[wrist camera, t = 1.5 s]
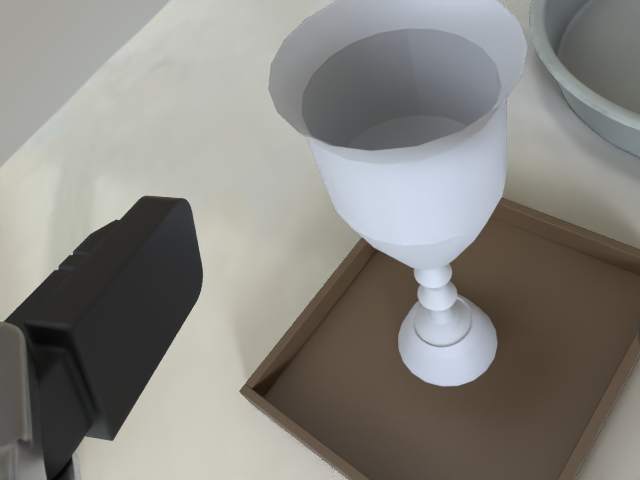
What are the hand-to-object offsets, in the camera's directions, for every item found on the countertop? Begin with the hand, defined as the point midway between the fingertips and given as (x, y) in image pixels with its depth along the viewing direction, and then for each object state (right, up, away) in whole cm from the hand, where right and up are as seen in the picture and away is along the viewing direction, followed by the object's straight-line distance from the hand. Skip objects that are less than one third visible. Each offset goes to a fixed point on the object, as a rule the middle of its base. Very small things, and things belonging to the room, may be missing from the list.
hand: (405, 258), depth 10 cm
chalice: (+5, -5, +20) cm, 21 cm away
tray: (+6, -5, +20) cm, 21 cm away
